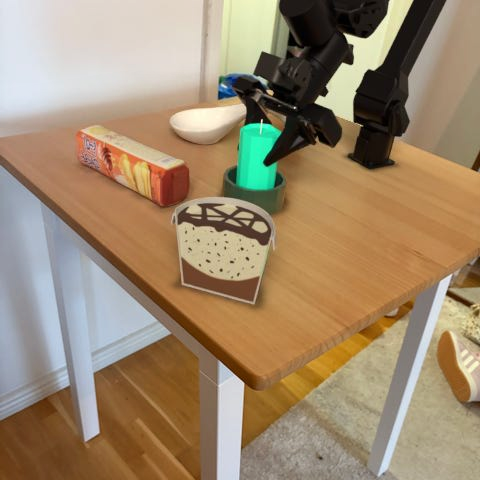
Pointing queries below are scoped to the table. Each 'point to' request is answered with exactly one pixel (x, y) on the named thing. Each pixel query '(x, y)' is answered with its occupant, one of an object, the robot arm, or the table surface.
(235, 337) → the table surface
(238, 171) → the candle
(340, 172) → the table surface
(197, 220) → the food container
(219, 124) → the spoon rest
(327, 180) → the table surface
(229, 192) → the bowl
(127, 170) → the snack package
